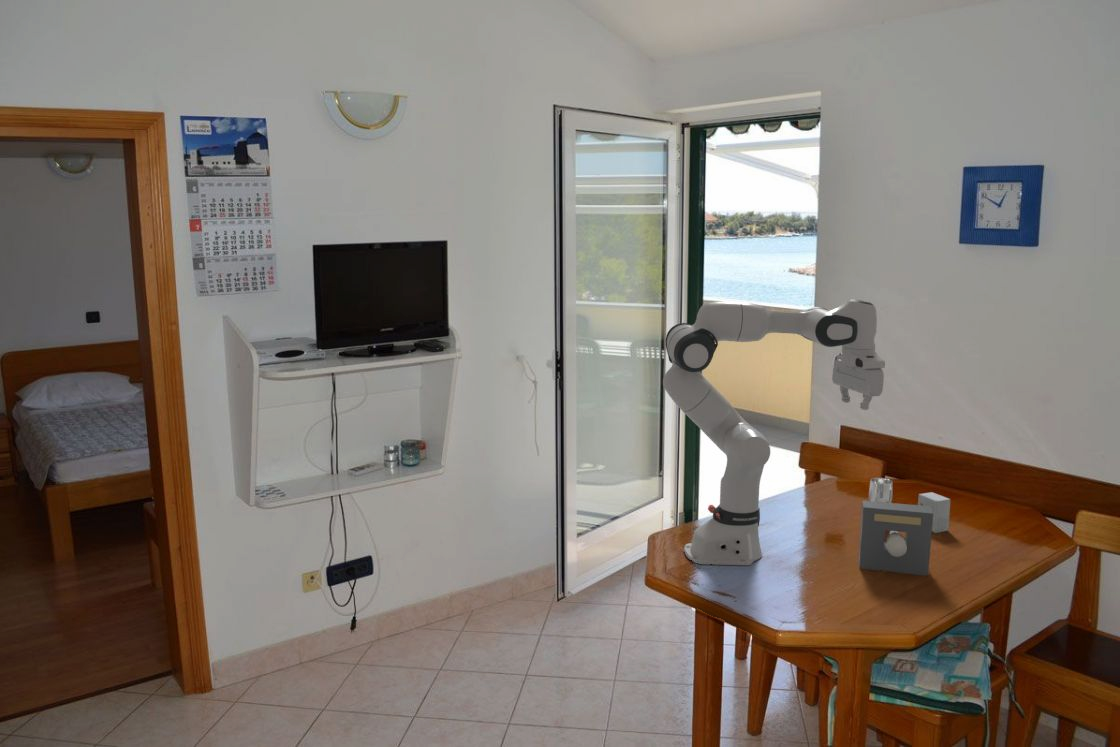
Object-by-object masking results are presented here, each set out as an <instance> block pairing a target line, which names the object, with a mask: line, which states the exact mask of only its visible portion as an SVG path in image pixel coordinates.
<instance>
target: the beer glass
mask: <svg viewBox="0 0 1120 747" xmlns="http://www.w3.org/2000/svg"><path fill="white" fill-rule="evenodd" d="M892 500H893V480H891V479H888V478H886V477H885V478H884V477H873V478H871V479H870V482H869V490H868V501H874V502H886V503H892Z"/></svg>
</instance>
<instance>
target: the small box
mask: <svg viewBox="0 0 1120 747" xmlns="http://www.w3.org/2000/svg"><path fill="white" fill-rule="evenodd" d="M917 499H918V501H917V502H918V503H917V505H920V506H931V508H932V511H933V523H932V533H934V534H938V533H944V532H949V525H950V513H951V512H950V510H951V498H948V497H946V496H943V495H941V494H937V493H935V492H932V491H931V492H924V493H919V494H918V498H917Z"/></svg>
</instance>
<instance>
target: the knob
mask: <svg viewBox="0 0 1120 747" xmlns="http://www.w3.org/2000/svg"><path fill="white" fill-rule="evenodd" d="M885 543H886V544H887V549H888V552H889V553H890V554H891V555H893V556H895V557H900V556H902V555H904V554H905V553H906V551H907V546H906V541H905V536H904V535H903V534H901V533H899V532H897V531H889V534H888V535H887V537H886V538H885Z"/></svg>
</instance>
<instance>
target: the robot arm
mask: <svg viewBox="0 0 1120 747" xmlns="http://www.w3.org/2000/svg"><path fill="white" fill-rule="evenodd" d="M877 319H878V318H877V308H876V306H875V305H874V304H873V303H872V302H870V301H864V300H861V299H857V298H856V299H855V298H851V299H848V300H847V301H846V302H844V303H842V304H841V305H840V306H839V305H838V306H837V307H836V308H833V309H828V308H825V307H824V306H823V307H822V306H814V307H813V306H812V307H810V308H807V309H804V310H801V311H788V310H787V311H784V310H773V309H768V308H767V307H765V306H762V305H759V304H755V303H752V302H751V303H750V302H743V301H734V300H733V301H731V300H730V301H729V300H728V301H727V300H725V301H724V300H723V301H720V300H719V301H712V302H711V301H710V302H707V303H703V304H702V305H701V306H700V308H699V310H698V312H697V314H696V320H695V322H694V323H693V324H691V323H688V322H682V323H677V324H675V325H673V326H672V327H670V329H669V330H668V331H667V333H666V336H665V349H666V353H667V357H668V361H669V363H670V364H672V365H671V367H670V368H669V369H668V370H667V371H666V373H665V374H664V376H663V379H662V385H663V388H664V390H665V391H666V393H667V394H668V396H669V397H670V399H671V400H672V401H673V402H674V403H675V405H676V406H677V407H678V408H679V409H680V410H681V411H682V412H683V413H684V414H685V416H687V417H688V419H690V420H691V421H692V422H693V423H694V424H695V425H696V426H697V427H698V428H699V429H700V430H701V431H702V432H703V433H704V435H706V436H707V438H708V439H710V441H711V442H712V443H713V444H714V445H716V447H717V448H718V449H719V450H720V452H723V453H724V455H726V466H725V470H724V473H723V476H722V477H721V479H720V486H719V488H720V491H719V494H720V495H719V504H718V505H717V507H715V506H714V505H713V504H709V505H708V508H707V510H708V511H709V513H711V514H712V518H710V519H709V520H707V521H706V522H705V523H704V524H702V525H701V526H699V527H696V529H695V531H694V532H693V536H692V540H691V542H689V543H685V545H684V547H683V553H684V552H685V553H684V555H685V556H686V558H688V559H689V560H690V561H691V560H692V561H691V562H693V563H695V564H697V563H698V565H710V564H712V566H714V565H715V566H718V565H719V566H720V565H722V566H751V565H752V564H753V563H754V562H755V561H758V560H759V559H761V558H762V557H763V552H762V548H761V543H760V537H759V536H760V534H759V533H760V532H759V526H760V521H761V509H760V508H761V507H759V505H760V504H759V503H760V502H759V501H760V487H761V486H760V484H761V480H762V475H763V472H764V471H763V470H764V467H765V465H766V464H767V463H768V461H769V459H770V456H771V447H770V444H769V442H768V440H767V438H766V437H765V435H764V434H763V433H761V432H760V431H759V430H757V429H756V428H755V427H754V426H752V425H751V424H750V423H749V422H747V421H746V420H745V419H744V418H743V417H742V415H740V413H739V412H738V411H737V410H736V409H735V408H734V407H733V405H731V403H730V402H729V401H728V400H727V398H726V397H725V396H723V395H722V394H721V393H720V392H719V391H718V389H716V387H715V386H714V385H713V384H712V383H711V382H709V381H708V379H707V378H705V377H704V375H703V374H702V372H703V371H704V370H705V369H707V367H708V366H709V365H710V364H711V362H712V360H713V358H714V354H715V352H716V350H717V348H718V346H719V342H722V341H723V342H726V341H727V342H736V343H737V342H738V343H739V342H740V343H751V342H759V341H760V340H762V339H763V338H764V337H765V336H766V335H767V334H774V333H775V334H776V333H778V334H795V335H799V336H802V337H803V338H805V339H807V340H808V341H812V342H814V343H817V344H818V345H819V344H820V345H821V346H823V347H827V348H832V347H833V348H835V347H839V346H841V352H840V353H839V354H838V355H837V356H836V360H835V361H834V363H833V369H832V377H831V378H832V382H833V384H835V385H837V386H839V391H840V393H841V402H842V403H847V404H848V403H850V401H851V395H849V390H851V391H854V392H856V393H859V394H862V398H863V400H862V402H860V403H859V405H860V406H859V408H860V410H863V411H867V410H869V408H870V403H871V401H872V399H873V397H880V396H881V395H882V393H883V390H884V380H885V379H884V375H885V374H884V370H883V369H884V368H885V366H886V361H885V360H884V359H883V358H882V357H881V356H880V355H879V354H878V353H877V352H876V343H875V337H876V334H877V326H878V325H877V324H878V321H877ZM713 564H714V565H713Z"/></svg>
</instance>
